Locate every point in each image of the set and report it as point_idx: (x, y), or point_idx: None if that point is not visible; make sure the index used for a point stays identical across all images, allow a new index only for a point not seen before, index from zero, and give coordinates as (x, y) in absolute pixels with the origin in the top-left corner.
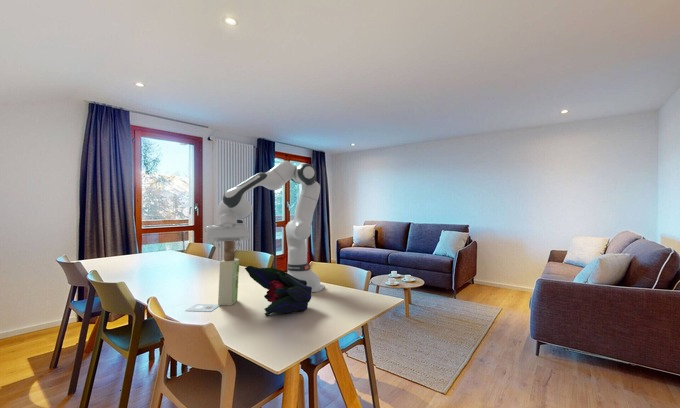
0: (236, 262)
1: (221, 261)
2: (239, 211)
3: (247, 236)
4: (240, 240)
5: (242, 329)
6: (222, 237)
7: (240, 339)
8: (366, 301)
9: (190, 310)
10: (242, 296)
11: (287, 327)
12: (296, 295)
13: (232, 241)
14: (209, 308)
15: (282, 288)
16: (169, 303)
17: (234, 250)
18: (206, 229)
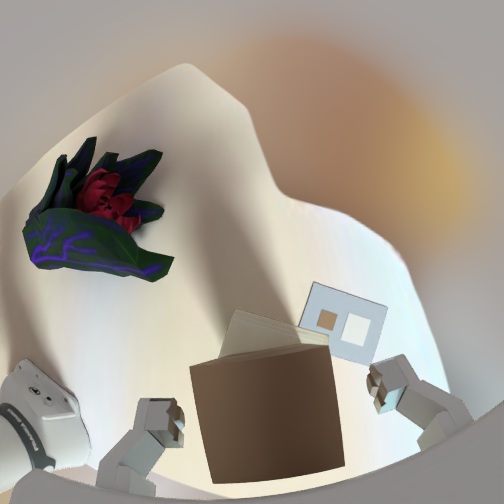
0: None
1: (320, 333)
2: None
3: (40, 469)
4: (127, 450)
5: (221, 150)
6: (391, 465)
7: (226, 116)
8: None
9: (375, 304)
10: None
11: (136, 147)
12: (78, 167)
13: (229, 422)
14: (323, 309)
15: (92, 170)
16: (438, 383)
17: (217, 359)
18: None
